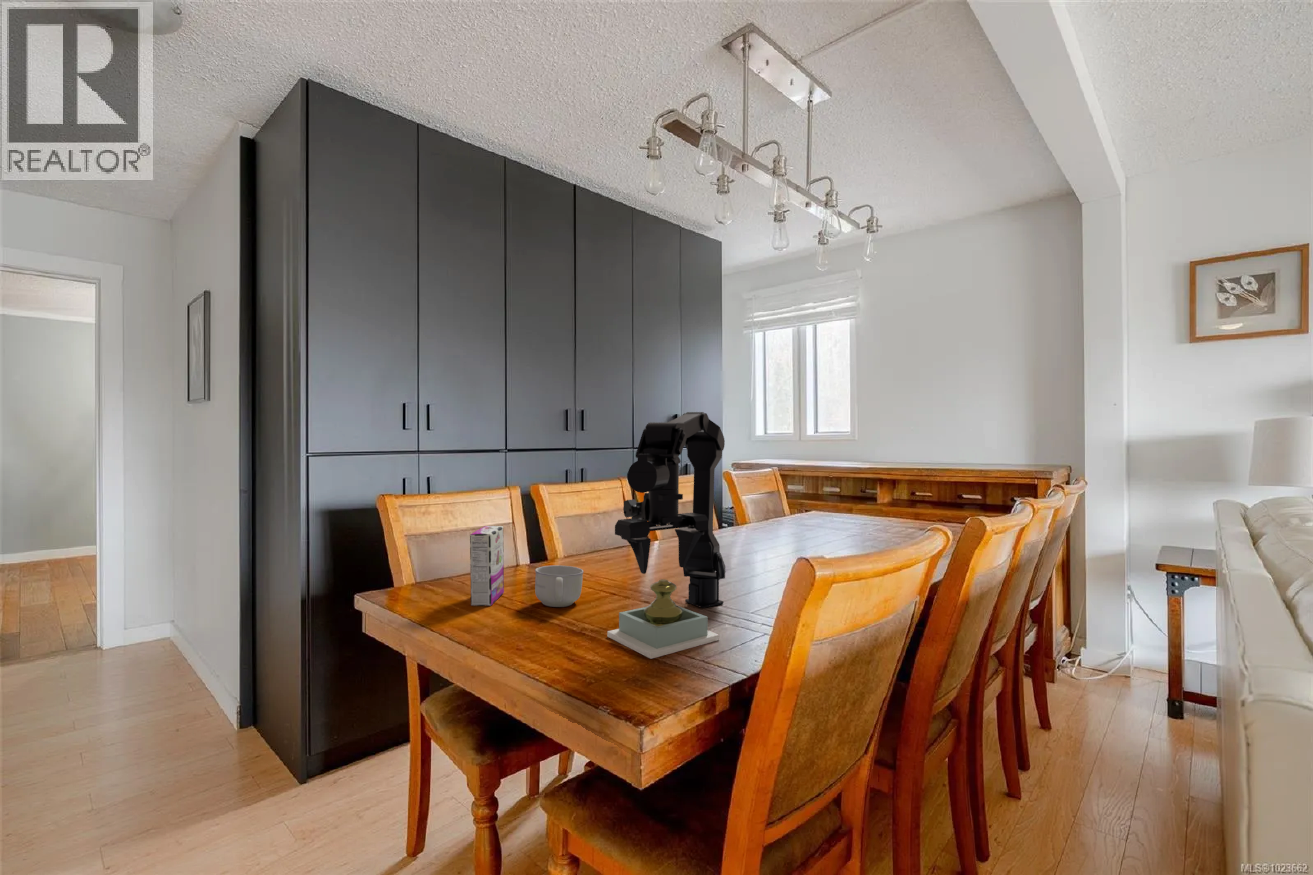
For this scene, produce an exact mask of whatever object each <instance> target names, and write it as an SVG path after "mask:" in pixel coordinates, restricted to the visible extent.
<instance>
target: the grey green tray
mask: <svg viewBox="0 0 1313 875" xmlns="http://www.w3.org/2000/svg"><path fill="white" fill-rule="evenodd" d="M678 606H679V607H680V608H681V609H682V611H683V614H682V617H681V618H680V619H681V620H682V621H679V622H675V623H671V624H666V625H662V626H655V625H653V624H651V623H648V622H646V621H644V620H645V619H647V618H646V617H645V616H644V609H645V608H646V607H647V606H644V607H638V608H635V609H630V610H626V611H620V612H618V628H616V629H612V630H607V638H608V639H609V638H610V639H611V640H613V641H615V642H617V643H619V644H621V645H622V646H625V647H627V648H628V649H631V650H632V651H635V652H637V653H639V654H640V655H643V656H644V657H646V658H648V659H655V658H659V657H663V656H665V655H666V656H667V655H670V654H674V653H677V652H680V651H684V650H687V649H692V648H695V647H698V646H703V645H706V644H710V643H714V642H716V641H720V635H719V634H718V633H716V632H713V631H711V630H709V629H708V627H709V626H708V624H709V622H708V621H709V620H708V619H709V617H708V616H706V615H704V614H701V613H698V612H696V611H692V610H691V609H687V608H684V607H682V606H680V605H678Z"/></svg>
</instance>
